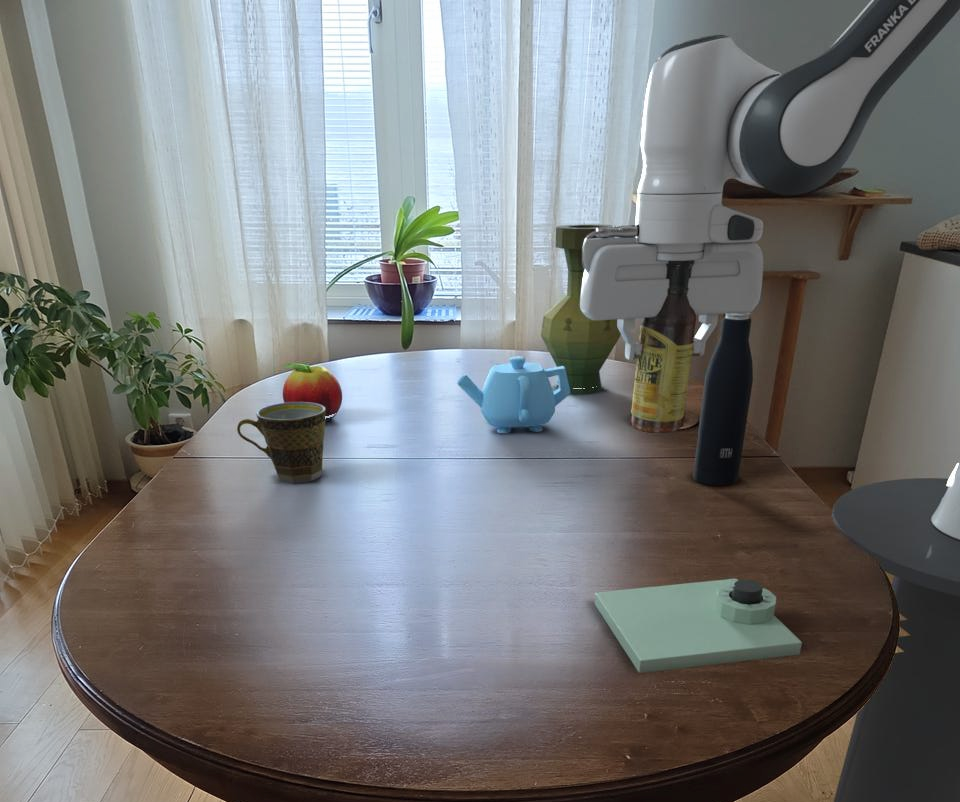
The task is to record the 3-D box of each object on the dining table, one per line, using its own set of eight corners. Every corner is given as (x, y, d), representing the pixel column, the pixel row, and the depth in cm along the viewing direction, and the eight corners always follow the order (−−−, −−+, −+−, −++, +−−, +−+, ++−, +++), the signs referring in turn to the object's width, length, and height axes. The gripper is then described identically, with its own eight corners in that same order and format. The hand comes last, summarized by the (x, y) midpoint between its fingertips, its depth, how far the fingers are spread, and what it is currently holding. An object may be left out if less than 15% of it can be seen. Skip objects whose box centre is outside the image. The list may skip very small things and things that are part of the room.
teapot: (559, 411, 154) (561, 346, 148) (579, 436, 139) (582, 365, 133) (453, 416, 152) (451, 350, 146) (463, 442, 137) (461, 370, 131)
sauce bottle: (621, 424, 101) (635, 246, 91) (666, 419, 102) (685, 244, 92) (646, 438, 95) (664, 251, 85) (693, 433, 97) (716, 249, 87)
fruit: (322, 430, 145) (315, 372, 140) (273, 423, 149) (265, 367, 144) (355, 415, 154) (350, 360, 149) (308, 409, 158) (302, 356, 153)
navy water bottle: (711, 468, 124) (740, 251, 109) (746, 479, 119) (782, 254, 104) (683, 477, 121) (709, 254, 105) (718, 489, 116) (751, 258, 101)
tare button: (752, 592, 83) (754, 578, 82) (765, 604, 81) (768, 590, 80) (726, 594, 83) (728, 580, 82) (738, 607, 80) (741, 593, 79)
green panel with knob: (737, 589, 89) (741, 564, 88) (803, 654, 77) (809, 627, 76) (594, 604, 87) (595, 578, 85) (639, 673, 75) (641, 645, 74)
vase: (583, 375, 178) (590, 222, 163) (634, 389, 167) (647, 226, 152) (523, 387, 170) (525, 226, 155) (573, 402, 159) (580, 231, 144)
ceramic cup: (327, 462, 130) (319, 399, 125) (338, 482, 121) (330, 415, 116) (243, 472, 126) (232, 407, 121) (249, 493, 118) (237, 425, 113)
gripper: (591, 229, 83) (585, 367, 90) (778, 222, 86) (758, 357, 93) (575, 225, 89) (570, 356, 96) (751, 219, 92) (734, 347, 99)
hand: (664, 357), depth 95 cm, fingers closed on sauce bottle, 6 cm apart
